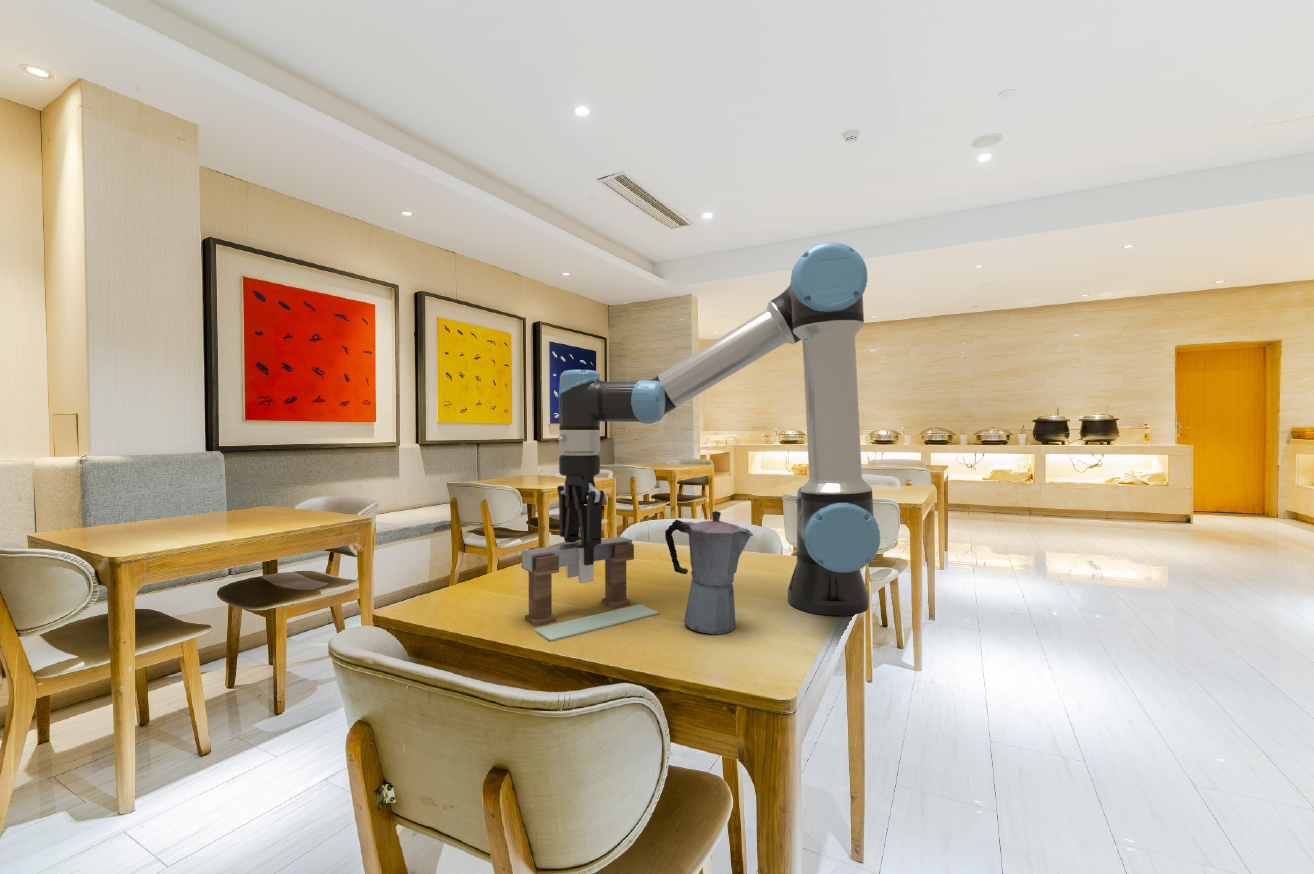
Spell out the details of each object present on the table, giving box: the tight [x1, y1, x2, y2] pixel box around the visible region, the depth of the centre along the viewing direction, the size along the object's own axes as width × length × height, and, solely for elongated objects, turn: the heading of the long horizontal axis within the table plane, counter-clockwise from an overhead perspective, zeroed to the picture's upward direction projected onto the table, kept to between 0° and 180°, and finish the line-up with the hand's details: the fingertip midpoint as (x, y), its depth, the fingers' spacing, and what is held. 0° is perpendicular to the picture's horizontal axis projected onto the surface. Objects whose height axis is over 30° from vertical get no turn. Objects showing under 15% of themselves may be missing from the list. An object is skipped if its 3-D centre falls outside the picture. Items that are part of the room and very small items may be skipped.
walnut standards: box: [521, 543, 635, 627], centre depth 103 cm, size 7×20×12 cm, turn 127°
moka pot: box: [664, 510, 754, 635], centre depth 96 cm, size 10×15×20 cm, turn 78°
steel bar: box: [521, 536, 633, 572], centre depth 103 cm, size 4×21×3 cm, turn 127°
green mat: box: [533, 603, 660, 642], centre depth 98 cm, size 6×22×1 cm, turn 127°
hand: (579, 578), depth 103 cm, fingers closed on steel bar, 4 cm apart
